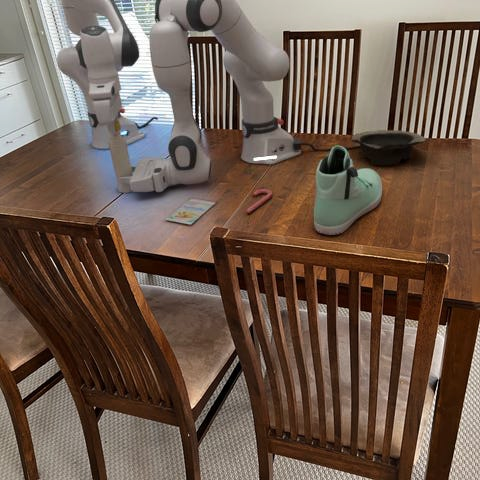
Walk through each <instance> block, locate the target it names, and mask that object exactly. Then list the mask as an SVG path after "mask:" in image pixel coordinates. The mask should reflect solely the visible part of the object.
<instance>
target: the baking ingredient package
mask: <svg viewBox="0 0 480 480" xmlns="http://www.w3.org/2000/svg"><path fill="white" fill-rule="evenodd" d="M215 204H216V202H214V201H209V200H201V199H198V198H197V199H196V198H190V199H189V200H187V201H186V202H185V203H184V204H183V205H181V206H180V207H179V208H177V209H176V210H175V211H173V213H172V214H170V215H169V216H168V217H166V218H165V219H164V220H165V221H168V222H169V221H170V222H176V223H179V224H186V225H189V226H190V225H191V226H192V224H193V223H195V222H196V221H198V219H199V218H200V217H201V216H203V215H204V214H205V213H206V212H207V211H209V210H210V208H212V207H213V206H214V205H215Z"/></svg>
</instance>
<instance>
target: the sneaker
mask: <svg viewBox="0 0 480 480" xmlns="http://www.w3.org/2000/svg"><path fill="white" fill-rule="evenodd" d="M331 148H332V149H331ZM331 148H330V149H331V151H329V154H327V155H326V156H325V157H324V158H322V159H321V160H320V161H319V163H318V164H317V165H318V166H317V168H316V172H315V201H314V207H313V225H314V229H315V231H316V232H318V233H320V234H323V235H326V236H327V235H328V236H336V235H339V234H342V233H344V232H345V231H347V230H348V229H349V228H350V227H351V226H352V225H353V224H354V222H356V221H357V220H358V219H359V218H360V217H362V216H363V215H365V214H367V213H370V212H372V210H374V209H375V208H377V207H378V205H380V203H381V200H382V196H383V184H382V183H383V182H382V179H381V176H380V175H379V173H378V172H377V171H376V170H374V169H372V168H367V167H365V168H358V169H357V168H355V167H354V161H353V159H352V158H351V156H350V153H349V152H348V149H347V150H346V149H345V147H344V146H342V145H334V146H333V147H331ZM343 230H344V231H343ZM319 231H320V232H319ZM322 232H323V233H322ZM339 232H340V233H339ZM326 233H327V234H326ZM328 233H329V234H328ZM335 233H337V234H335Z"/></svg>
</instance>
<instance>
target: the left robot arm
mask: <svg viewBox="0 0 480 480" xmlns="http://www.w3.org/2000/svg"><path fill="white" fill-rule="evenodd" d="M60 1H61V5H62V10H63V13H64V17H65V18H64V19H65V21H66V25H67V28H68V30H69V31H70V32H71V33H72V34H73V35H75V36H78V37H80V38H79V40H78V41H77V43H76V45H73V46H72V45H71V46H69V47H64V48H62V49H60V50H59V51H58V53H57V55H56V63H57V67H58V69H59V71H60V72H61V73H62V74H63V75H65V77H68V78H69V79H71V80H72V81H73V82H74V83H75V84H76V85H77V86H78V88H79V89H80V91H81V93H82V95H83V98H84V101H85V104H86V109H87V118H88V122H89V125H90V127H91V128H90V129H91V137H92V138H91V140H92V141H91V147H92V148H94V149H98V150H107V149H109V150H110V148H109V139H110V136H111V134H115V133H116V127H115V125H114V121H119V123H120V127H121V129H120V130H119V133H121V135H122V136H123V137H124V139H125V141H126V143H127V146H128V145H131V144H132V143H135V142H137V141H139V140H141V139H143V138H145V137H146V135H145V133H144V132H142V131H140V130H139V129H142V128H145V127H146V126H148V125H149V124H151V122H152V121H154V120H156V121H158V120H159V117H156V116H153V117H152V118H150V119H149V120H148V121H146V123H143V124H142V125H138V123H137V122H135V121H134V120H131V119H129V118H127V117H125V116H123V115H122V114H125V112H126V109H125V108H124V107H123V103H122V97H121V94H120V92H121V91H122V86H121V81H120V75H119V72H121V71H122V70H123V69H124V68H125V67H127V68H129V67H133V66H134V65H135V64H136V63H137V61H138V60H139V58H140V48H139V44H138V41H137V40H136V38H135V36H134V34H133V33H132V31H131V30H130V28H129V27H128V25H127V23H126V21H125V18H124V17H123V15H122V13H121V11H120V9H119V7H118V5H117V3H116V2H115V0H60ZM98 15H100V16H102V17H104V18H105V19H107V22H108V23H109V24H110V27H111V29H112V31H113V33H109V31H108V29H107V28H106V27H104V26H102V25H100V22H99V20H98ZM122 107H123V108H122ZM108 128H109V131H108Z"/></svg>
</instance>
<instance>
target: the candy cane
mask: <svg viewBox="0 0 480 480" xmlns="http://www.w3.org/2000/svg"><path fill="white" fill-rule="evenodd" d="M261 194H265V195H264V196H263V197H262V198H260V199H259V200H257V201H256V202H255V203H254V204H252V205H251V206H250V207H248V208H247V209H246V210H245V213H246V214H248V215H249V214H251V213H252V212H254V211H255V210H257V209H258V208H259V207H260V206H261V205H263V204H264V203H265V202H267V201H268V200H269V199H271V198H272V197H273V192H272V191H271V190H270V189H266V188H260V189H256V190H255V191H253V193H252V196H253V197H257V196H258V195H261Z"/></svg>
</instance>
